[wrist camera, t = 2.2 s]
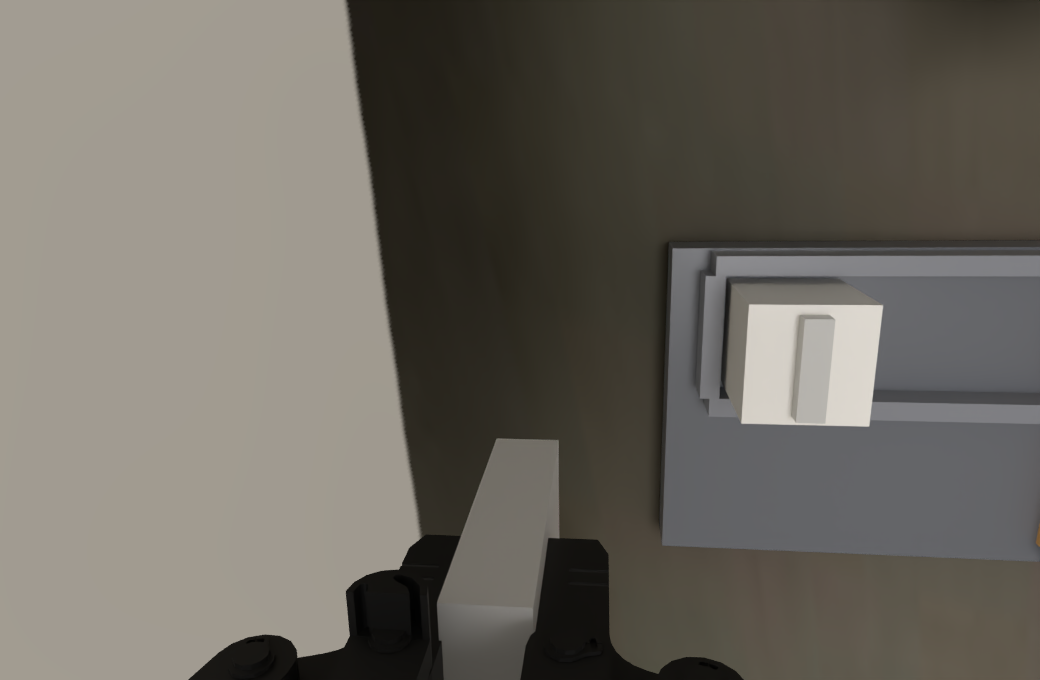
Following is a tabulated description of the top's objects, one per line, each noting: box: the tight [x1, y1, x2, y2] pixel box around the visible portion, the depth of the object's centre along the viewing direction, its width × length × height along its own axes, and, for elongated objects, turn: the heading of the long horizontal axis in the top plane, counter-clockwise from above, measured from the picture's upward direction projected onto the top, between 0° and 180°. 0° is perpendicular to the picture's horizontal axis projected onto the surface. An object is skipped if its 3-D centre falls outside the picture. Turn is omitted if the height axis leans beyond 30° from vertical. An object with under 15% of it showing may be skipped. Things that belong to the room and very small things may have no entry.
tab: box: [721, 278, 883, 427], centre depth 28 cm, size 4×4×6 cm
